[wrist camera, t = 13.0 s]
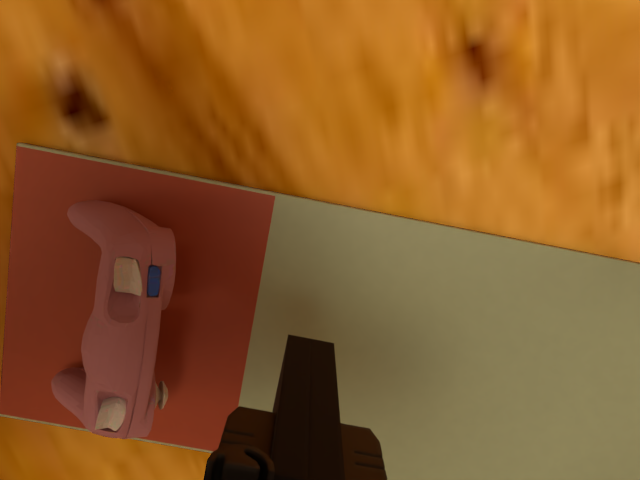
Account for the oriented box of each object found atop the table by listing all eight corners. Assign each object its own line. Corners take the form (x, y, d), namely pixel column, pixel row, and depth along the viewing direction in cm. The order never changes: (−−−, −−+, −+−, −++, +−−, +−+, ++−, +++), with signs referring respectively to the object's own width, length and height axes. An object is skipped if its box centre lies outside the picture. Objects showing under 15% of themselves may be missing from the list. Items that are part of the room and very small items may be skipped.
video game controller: (146, 380, 27) (170, 467, 21) (50, 386, 25) (46, 484, 19) (171, 200, 25) (206, 239, 19) (68, 189, 23) (70, 229, 17)
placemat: (3, 411, 26) (-2, 416, 26) (21, 142, 23) (16, 142, 23) (630, 521, 27) (635, 527, 27) (723, 279, 24) (730, 281, 24)
